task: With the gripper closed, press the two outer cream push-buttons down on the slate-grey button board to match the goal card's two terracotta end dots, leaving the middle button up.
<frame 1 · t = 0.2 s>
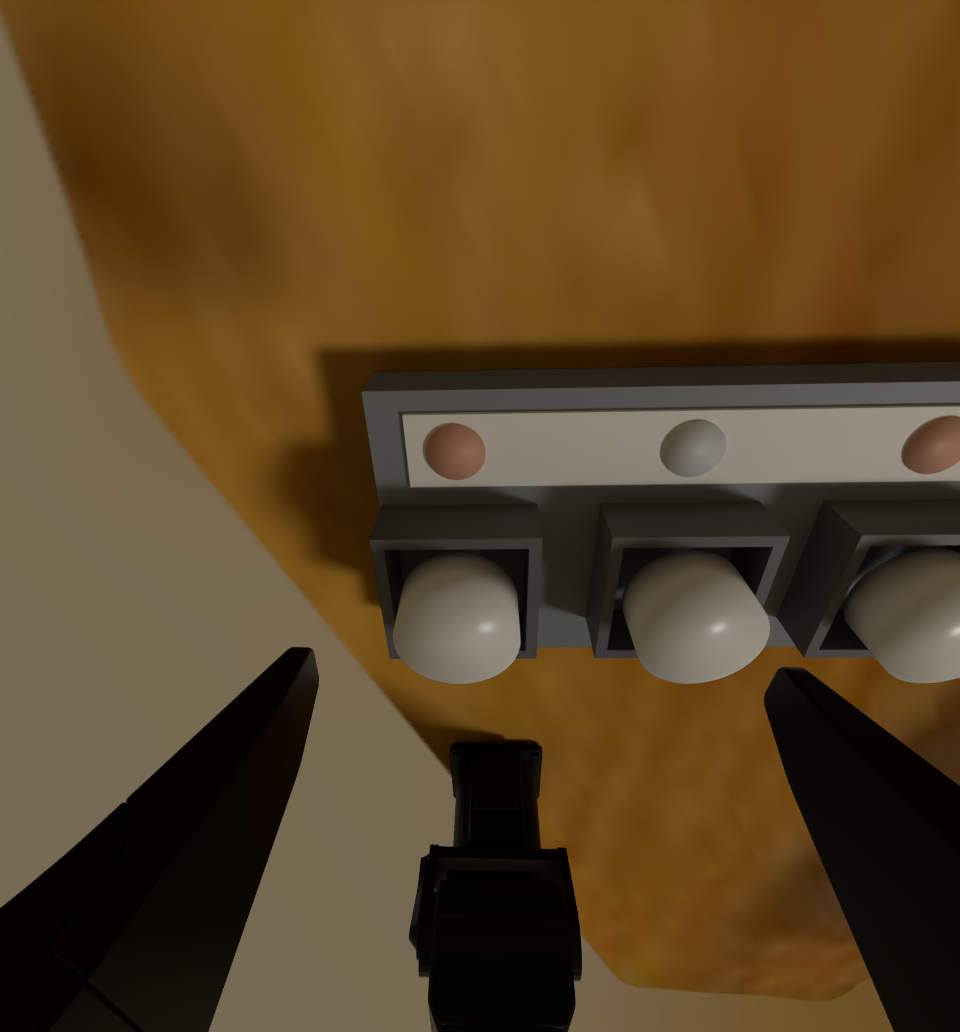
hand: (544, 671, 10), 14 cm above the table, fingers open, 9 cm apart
button mid: (690, 617, 20), point 6 cm above the table, slide at 0.0 cm
button end2: (458, 618, 21), point 6 cm above the table, slide at 0.0 cm
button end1: (929, 616, 20), point 6 cm above the table, slide at 0.0 cm
button board: (655, 508, 25), on the table
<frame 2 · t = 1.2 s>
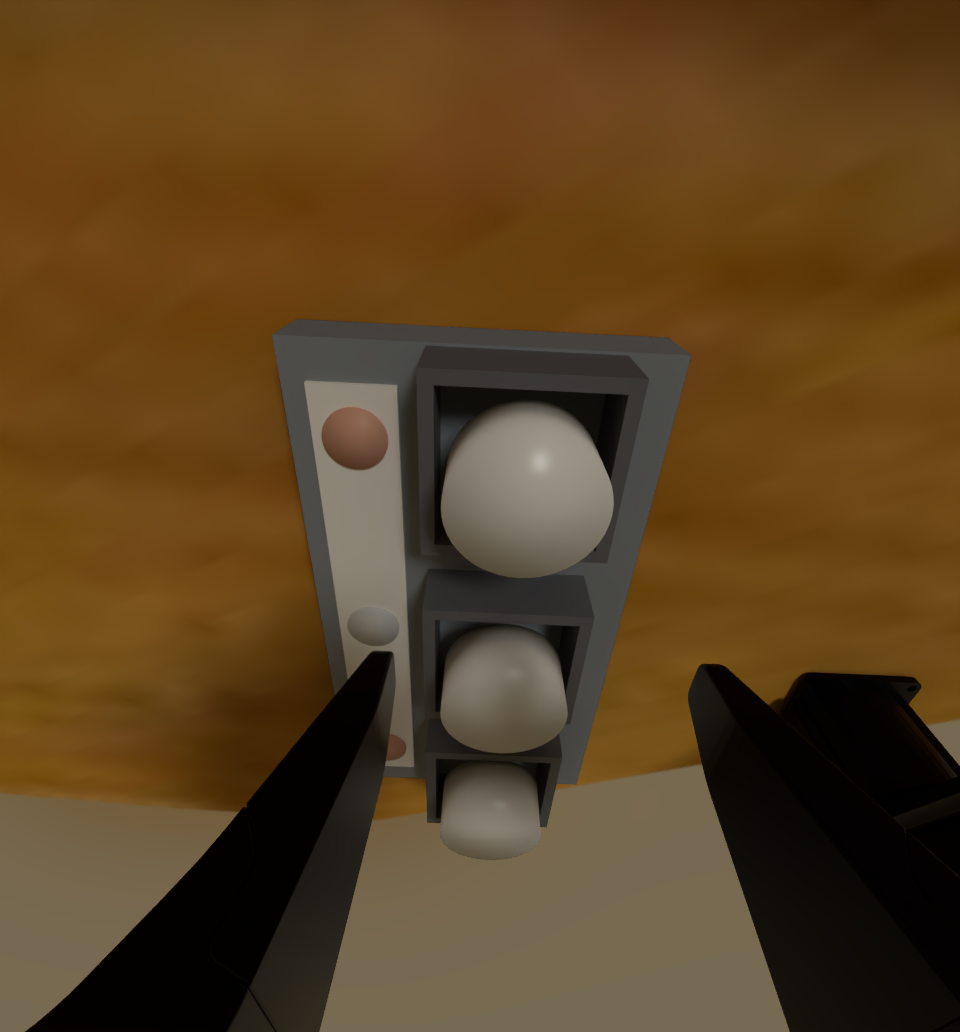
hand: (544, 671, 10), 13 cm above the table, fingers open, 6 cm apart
button mid: (503, 689, 21), point 6 cm above the table, slide at 0.0 cm
button end2: (490, 809, 26), point 6 cm above the table, slide at 0.0 cm
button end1: (524, 490, 16), point 6 cm above the table, slide at 0.0 cm
button board: (471, 591, 26), on the table
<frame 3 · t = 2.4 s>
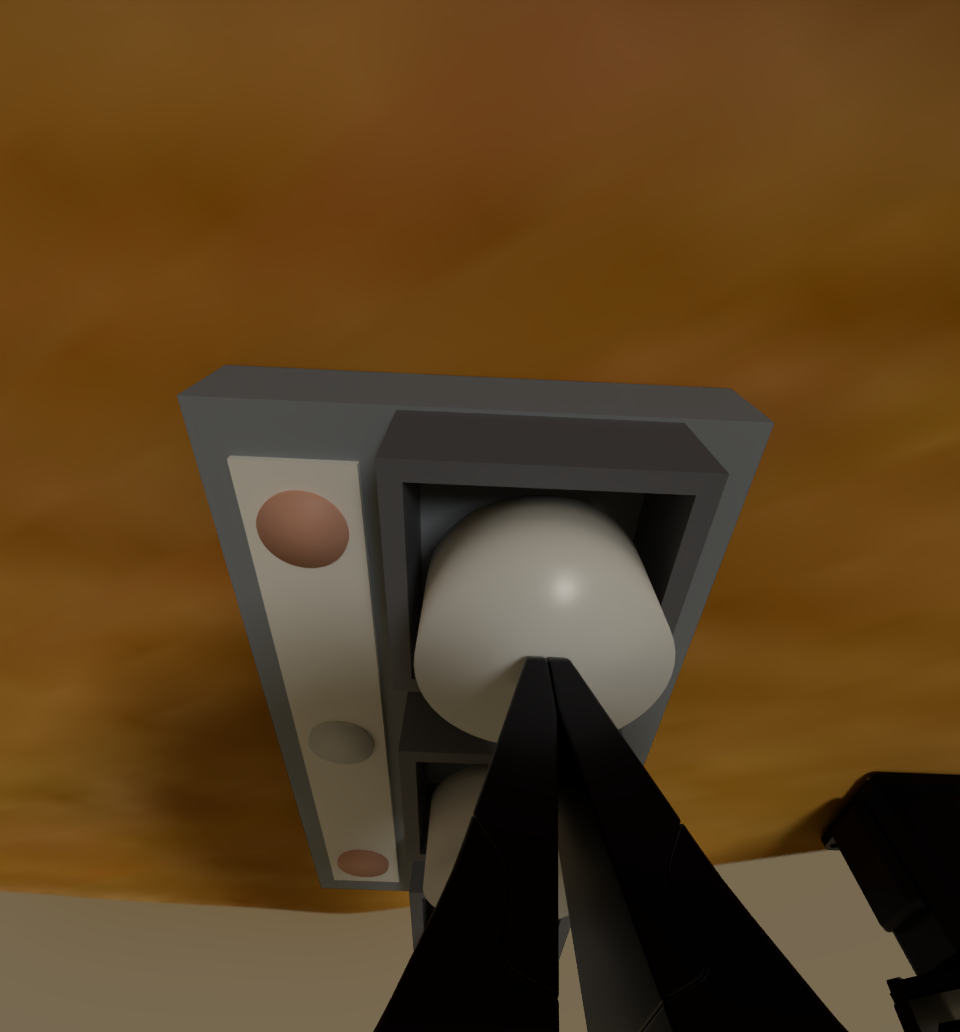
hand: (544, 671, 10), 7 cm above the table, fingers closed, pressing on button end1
button mid: (506, 845, 16), point 6 cm above the table, slide at 0.0 cm
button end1: (537, 624, 11), point 6 cm above the table, slide at 0.1 cm, touching gripper
button board: (466, 686, 21), on the table
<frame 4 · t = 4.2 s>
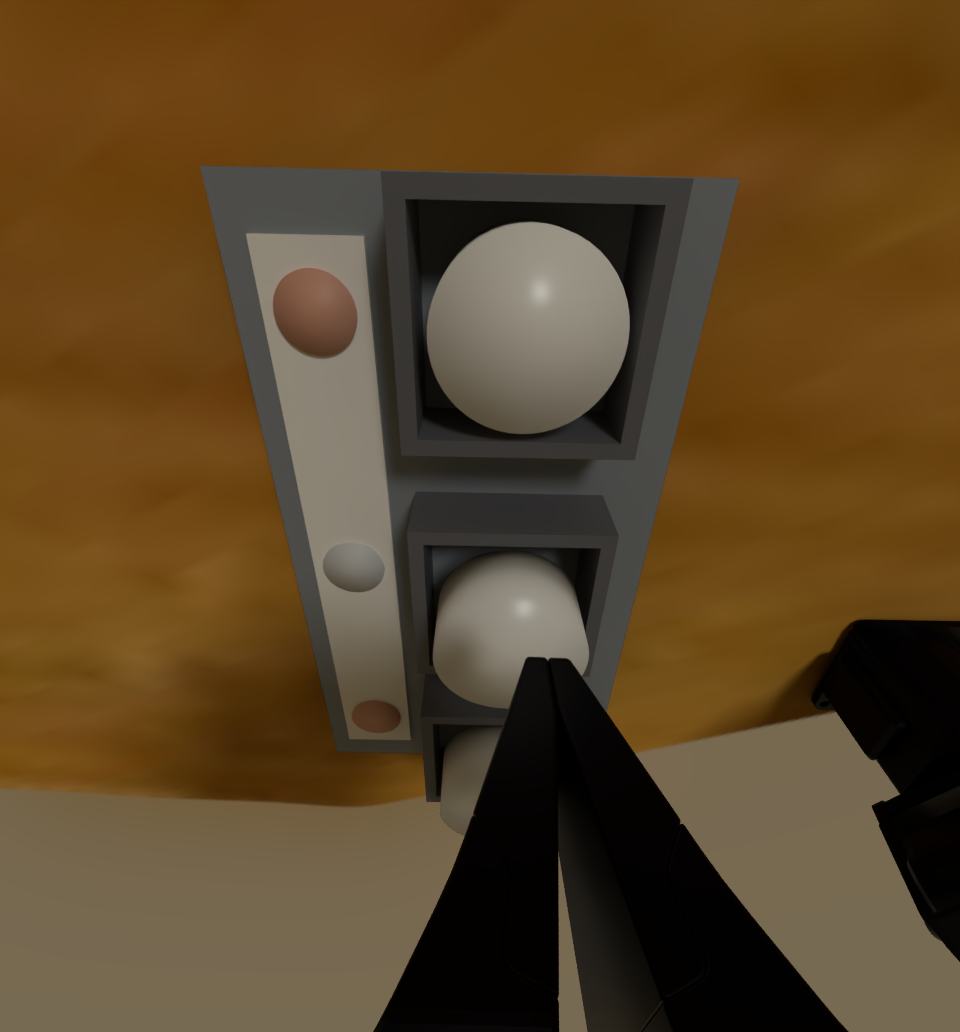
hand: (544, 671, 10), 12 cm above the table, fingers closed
button mid: (508, 630, 17), point 6 cm above the table, slide at 0.0 cm
button end2: (498, 783, 22), point 6 cm above the table, slide at 0.0 cm
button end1: (524, 329, 13), point 4 cm above the table, slide at 1.8 cm
button board: (469, 530, 22), on the table
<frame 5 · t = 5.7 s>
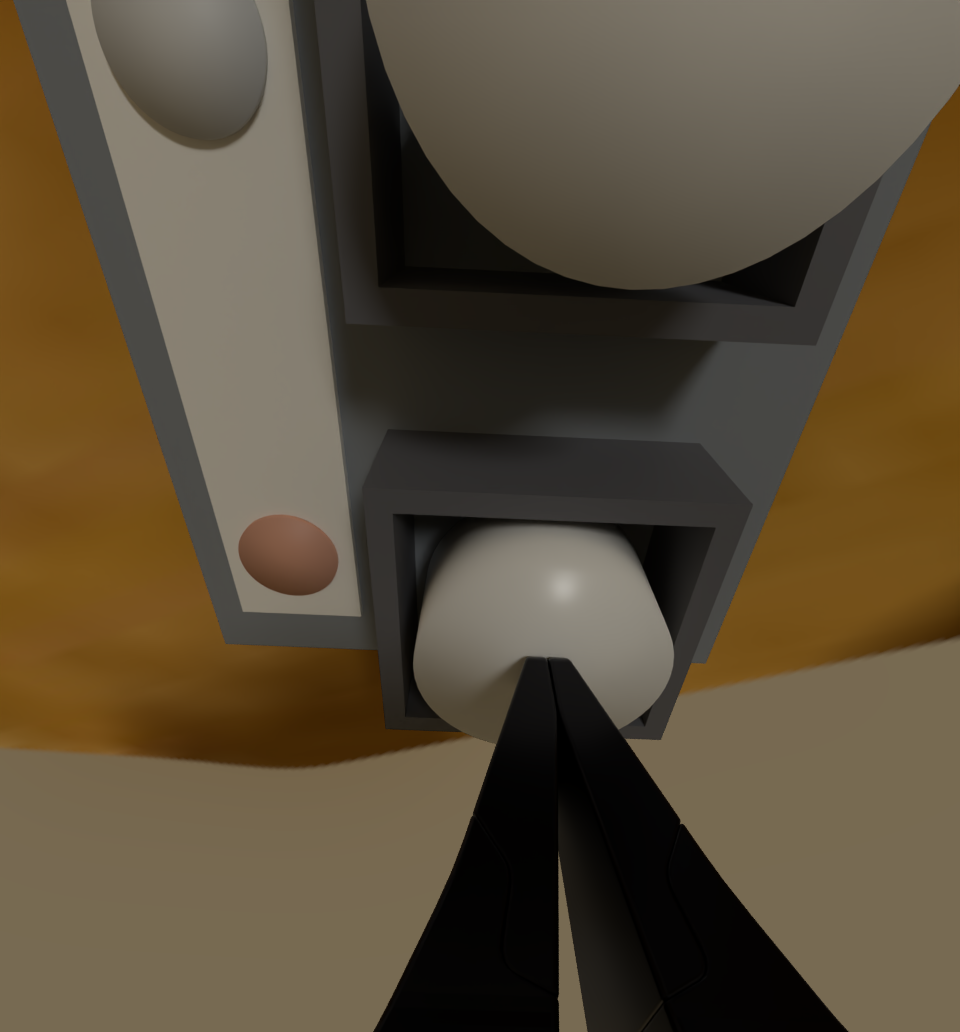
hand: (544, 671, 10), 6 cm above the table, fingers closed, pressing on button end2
button end2: (536, 625, 11), point 5 cm above the table, slide at 1.2 cm, touching gripper
button board: (489, 88, 10), on the table
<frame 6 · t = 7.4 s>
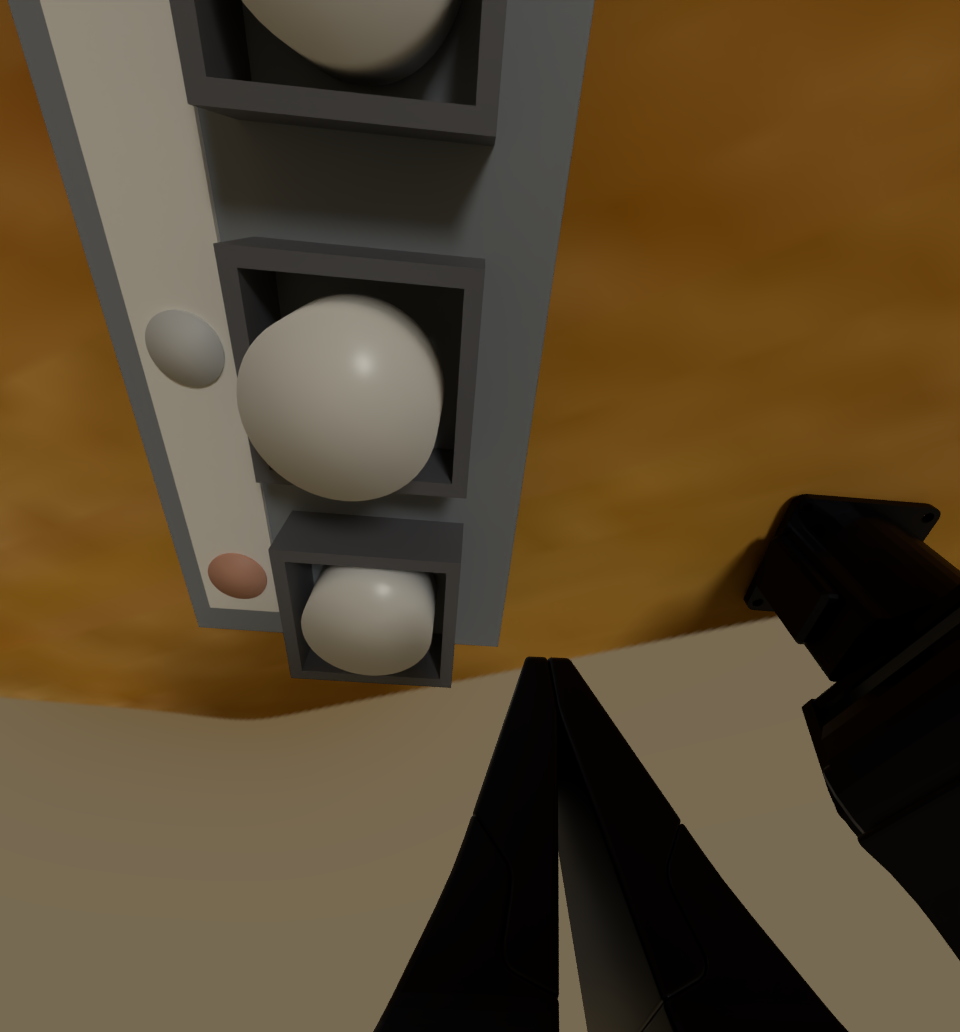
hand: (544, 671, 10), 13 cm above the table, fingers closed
button mid: (349, 399, 14), point 6 cm above the table, slide at 0.0 cm
button end2: (373, 609, 20), point 4 cm above the table, slide at 1.8 cm
button board: (346, 340, 19), on the table
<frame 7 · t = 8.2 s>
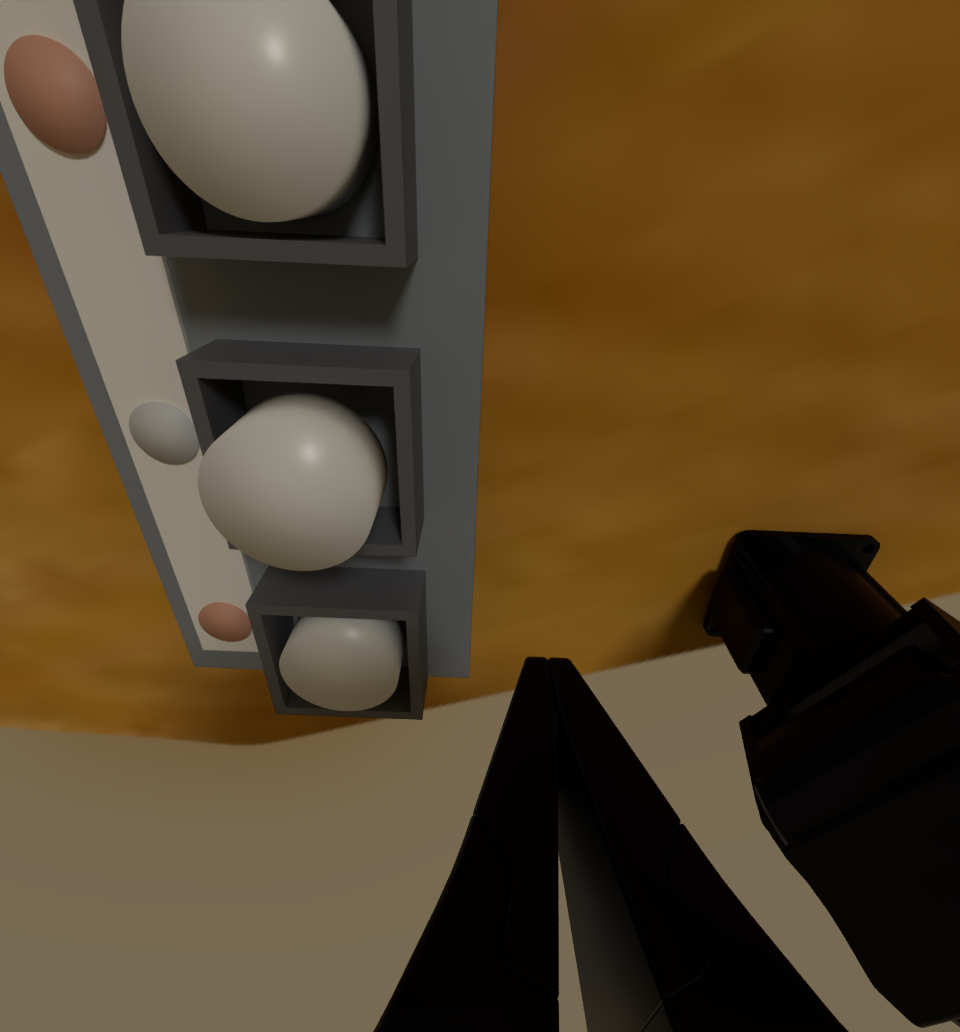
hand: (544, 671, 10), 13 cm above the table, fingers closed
button mid: (300, 483, 16), point 6 cm above the table, slide at 0.0 cm
button end2: (346, 651, 22), point 4 cm above the table, slide at 1.8 cm
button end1: (264, 99, 12), point 4 cm above the table, slide at 1.8 cm
button board: (310, 411, 21), on the table
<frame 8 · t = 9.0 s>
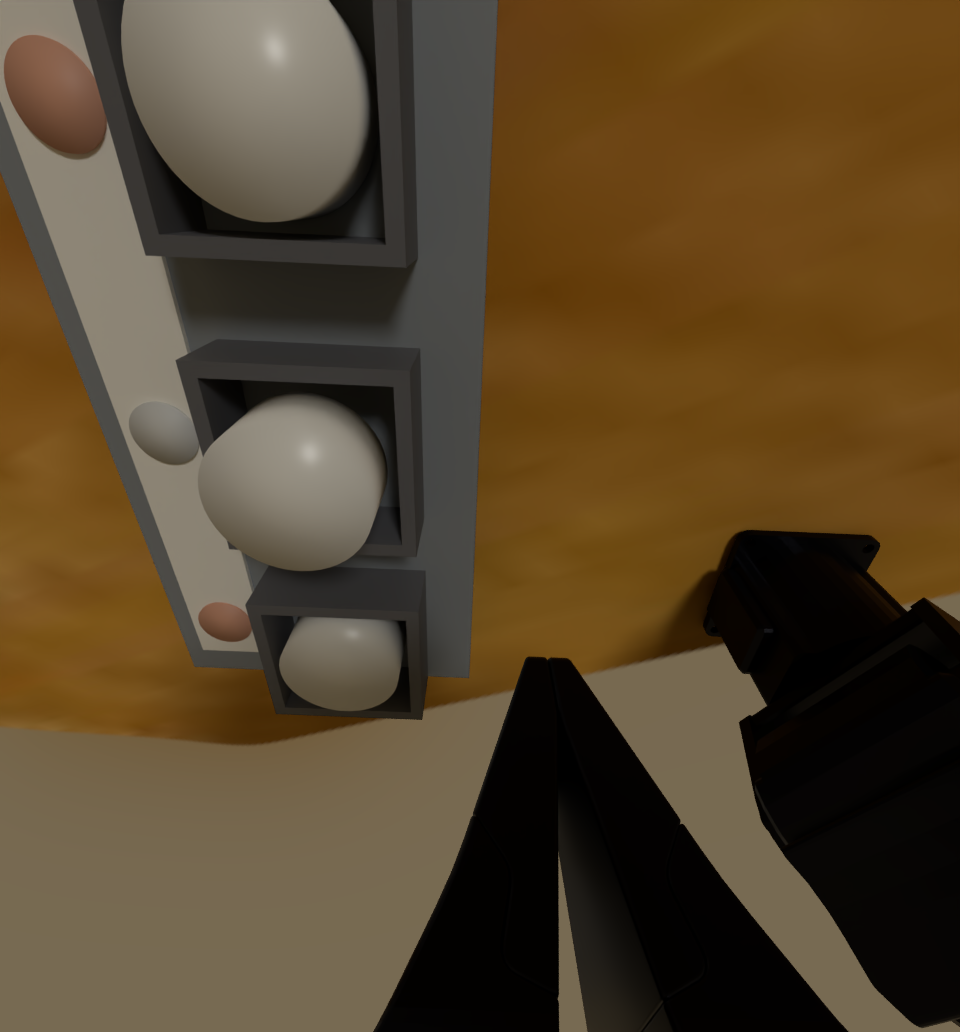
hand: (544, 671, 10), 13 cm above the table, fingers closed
button mid: (300, 483, 16), point 6 cm above the table, slide at 0.0 cm
button end2: (346, 651, 22), point 4 cm above the table, slide at 1.8 cm
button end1: (264, 99, 12), point 4 cm above the table, slide at 1.8 cm
button board: (310, 411, 21), on the table
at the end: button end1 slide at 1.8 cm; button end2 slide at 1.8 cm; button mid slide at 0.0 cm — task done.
